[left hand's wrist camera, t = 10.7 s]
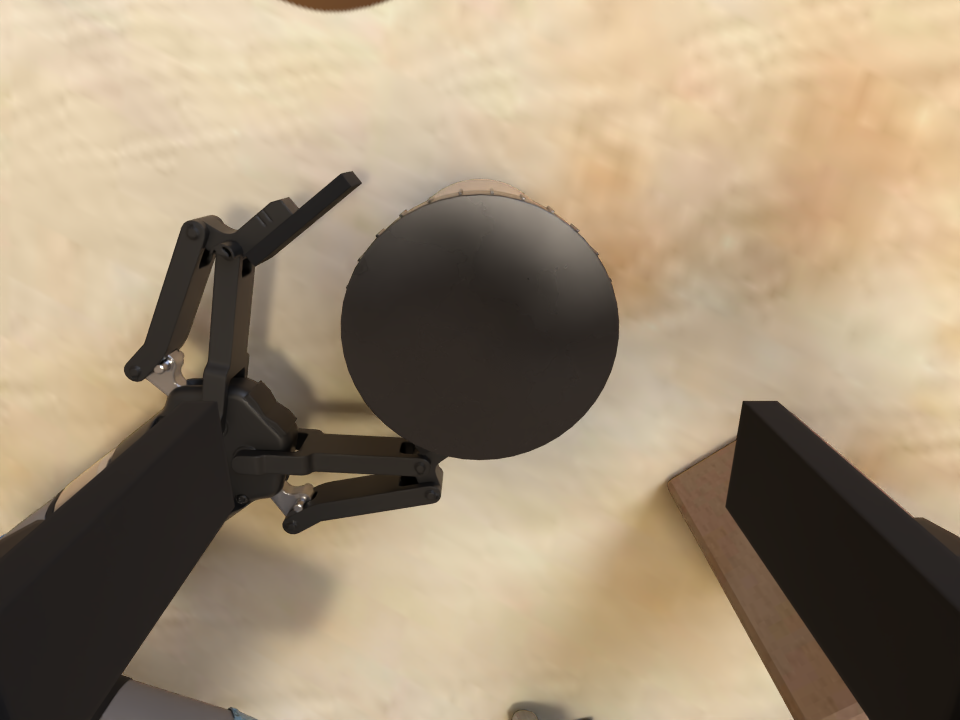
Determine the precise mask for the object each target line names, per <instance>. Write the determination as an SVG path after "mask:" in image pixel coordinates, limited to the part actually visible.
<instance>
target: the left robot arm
mask: <svg viewBox="0 0 960 720" xmlns="http://www.w3.org/2000/svg"><path fill="white" fill-rule="evenodd" d="M234 507H235V505H234V499H233V493H232V487H231V481H230V475H229V469H228V463H227V457H226V451H225V445H224V439H223V433H222V427H221V421H220V415H219V410H218V404H217V401H182V402H181V403H180V404H179V405H178V406H176V407H175V408H174V409H173V410H172V411H171V412H169V413H168V414H167V415H166V416H165V417H164V418H162V419H161V420H160V421H159V422H158V423H157V424H156V425H154V426H153V427H152V428H151V429H150V430H149V431H147V432H146V433H145V434H144V435H143V436H142V437H140V438H139V439H138V440H137V441H136V442H135V443H133V444H132V445H131V446H130V447H129V448H128V449H127V450H125V451H124V452H123V453H122V454H121V455H120V456H118V457H117V458H116V459H115V460H114V461H113V462H111V463H110V464H109V465H108V466H107V467H106V468H104V469H103V470H102V471H101V472H100V473H99V474H98V475H96V476H95V477H94V478H93V479H92V480H91V481H89V482H88V483H87V484H86V485H85V486H84V487H82V488H81V489H80V490H79V491H78V492H77V493H76V494H74V495H73V496H72V497H71V498H70V499H69V500H67V501H66V502H65V503H64V504H63V505H62V506H60V507H59V508H58V509H57V510H56V511H55V512H53V513H52V514H51V515H50V516H49V517H48V518H47V519H45V520H36V521H34V522H32V523H30V524H29V525H27V526H25V527H23V528H21V529H19V530H17V531H16V532H14V533H12V534H10V535H8V536H6V537H4V538H3V539H2V540H0V720H91V718H92V717H93V715H94V714H95V712H96V711H97V710H98V708H99V707H100V705H101V704H102V702H103V701H104V699H105V698H106V696H107V695H108V693H109V692H110V690H111V689H112V687H113V686H114V684H115V683H116V681H117V680H118V679H119V677H120V676H121V674H122V673H123V671H124V670H125V668H126V667H127V665H128V664H129V662H130V661H131V659H132V658H133V656H134V655H135V653H136V652H137V650H138V649H139V647H140V646H141V645H142V643H143V642H144V640H145V639H146V637H147V636H148V634H149V633H150V631H151V630H152V628H153V627H154V625H155V624H156V622H157V621H158V619H159V618H160V616H161V615H162V614H163V612H164V611H165V609H166V608H167V606H168V605H169V603H170V602H171V600H172V599H173V597H174V596H175V594H176V593H177V591H178V590H179V588H180V587H181V585H182V584H183V583H184V581H185V580H186V578H187V577H188V575H189V574H190V572H191V571H192V569H193V568H194V566H195V565H196V563H197V562H198V560H199V559H200V557H201V556H202V554H203V553H204V552H205V550H206V549H207V547H208V546H209V544H210V543H211V541H212V540H213V538H214V537H215V535H216V534H217V532H218V531H219V529H220V528H221V526H222V525H223V523H224V522H225V520H226V519H227V518H228V516H229V515H230V513H231V512H232V510H233V509H234ZM725 507H726V509H727V510H728V512H729V513H730V515H731V516H732V518H733V519H734V521H735V522H736V523H737V525H738V526H739V528H740V529H741V531H742V532H743V534H744V535H745V537H746V538H747V540H748V541H749V543H750V544H751V546H752V547H753V549H754V550H755V552H756V553H757V554H758V556H759V557H760V559H761V560H762V562H763V563H764V565H765V566H766V568H767V569H768V571H769V572H770V574H771V575H772V577H773V578H774V580H775V581H776V583H777V584H778V585H779V587H780V588H781V590H782V591H783V593H784V594H785V596H786V597H787V599H788V600H789V602H790V603H791V605H792V606H793V608H794V609H795V611H796V612H797V614H798V615H799V616H800V618H801V619H802V621H803V622H804V624H805V625H806V627H807V628H808V630H809V631H810V633H811V634H812V636H813V637H814V639H815V640H816V642H817V643H818V645H819V646H820V647H821V649H822V650H823V652H824V653H825V655H826V656H827V658H828V659H829V661H830V662H831V664H832V665H833V667H834V668H835V670H836V671H837V673H838V674H839V676H840V677H841V679H842V680H843V681H844V683H845V684H846V686H847V687H848V689H849V690H850V692H851V693H852V695H853V696H854V698H855V699H856V701H857V702H858V704H859V705H860V707H861V708H862V710H863V711H864V712H865V714H866V715H867V717H868V718H869V720H960V538H959V537H958V536H956V535H955V534H953V533H951V532H949V531H947V530H945V529H943V528H942V527H940V526H938V525H936V524H934V523H932V522H930V521H928V520H927V519H925V518H912V517H911V516H910V515H909V514H908V513H907V512H905V511H904V510H903V509H902V508H901V507H900V506H898V505H897V504H896V503H895V502H894V501H893V500H891V499H890V498H889V497H888V496H887V495H886V494H884V493H883V492H882V491H881V490H880V489H879V488H878V487H876V486H875V485H874V484H873V483H872V482H871V481H869V480H868V479H867V478H866V477H865V476H864V475H862V474H861V473H860V472H859V471H858V470H857V469H856V468H854V467H853V466H852V465H851V464H850V463H849V462H847V461H846V460H845V459H844V458H843V457H842V456H840V455H839V454H838V453H837V452H836V451H835V450H833V449H832V448H831V447H830V446H829V445H828V444H827V443H825V442H824V441H823V440H822V439H821V438H820V437H818V436H817V435H816V434H815V433H814V432H813V431H811V430H810V429H809V428H808V427H807V426H806V425H804V424H803V423H802V422H801V421H800V420H799V419H798V418H796V417H795V416H794V415H793V414H792V413H791V412H789V411H788V410H787V409H786V408H785V407H784V406H782V405H781V404H780V403H779V402H778V401H743V404H742V409H741V415H740V421H739V427H738V433H737V439H736V445H735V451H734V457H733V463H732V469H731V475H730V481H729V487H728V493H727V499H726V505H725Z"/></svg>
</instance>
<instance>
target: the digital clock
mask: <svg viewBox="0 0 960 720" xmlns="http://www.w3.org/2000/svg"><path fill="white" fill-rule="evenodd" d="M512 720H538V718H537V717H536V715H535V714H534V713H533V712H530V711H526V710H521V711H517V712H516V713H514V715H513V718H512Z"/></svg>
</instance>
